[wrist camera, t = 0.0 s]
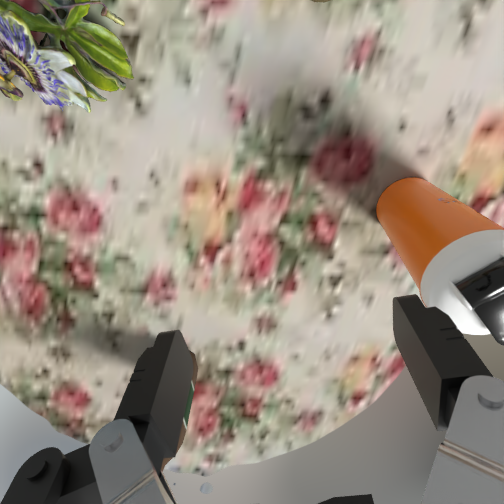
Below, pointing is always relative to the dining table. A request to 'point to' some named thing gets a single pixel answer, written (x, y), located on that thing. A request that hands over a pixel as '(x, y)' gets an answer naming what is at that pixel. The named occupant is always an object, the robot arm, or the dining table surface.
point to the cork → (320, 0)
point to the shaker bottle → (448, 253)
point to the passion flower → (60, 53)
